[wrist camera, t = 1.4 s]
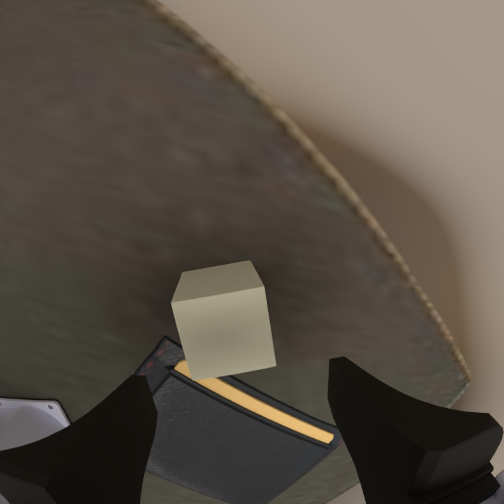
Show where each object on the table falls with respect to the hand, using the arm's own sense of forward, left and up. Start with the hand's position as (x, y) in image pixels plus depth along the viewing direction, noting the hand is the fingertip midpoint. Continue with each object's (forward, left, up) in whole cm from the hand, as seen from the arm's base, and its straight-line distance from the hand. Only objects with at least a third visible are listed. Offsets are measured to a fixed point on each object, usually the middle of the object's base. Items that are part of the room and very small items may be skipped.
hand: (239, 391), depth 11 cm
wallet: (-3, -14, -11) cm, 18 cm away
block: (0, 0, -10) cm, 10 cm away
